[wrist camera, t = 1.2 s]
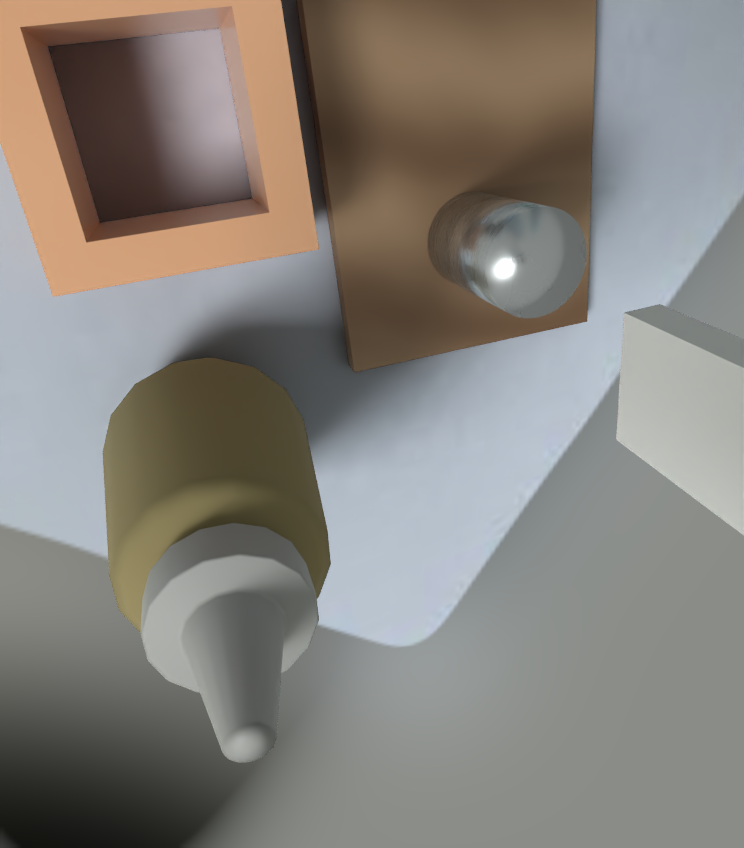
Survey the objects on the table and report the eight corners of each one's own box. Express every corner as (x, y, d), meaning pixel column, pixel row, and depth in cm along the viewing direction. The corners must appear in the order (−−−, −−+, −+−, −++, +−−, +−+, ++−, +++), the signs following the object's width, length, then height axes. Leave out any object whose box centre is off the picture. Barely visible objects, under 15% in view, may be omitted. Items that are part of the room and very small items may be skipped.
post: (424, 199, 28) (484, 216, 22) (509, 185, 28) (588, 198, 23) (431, 292, 29) (489, 327, 24) (512, 276, 30) (585, 307, 25)
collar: (-15, -1, 22) (-60, -33, 17) (252, -24, 24) (271, -59, 19) (72, 267, 26) (53, 296, 21) (294, 229, 28) (319, 249, 23)
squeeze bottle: (300, 337, 30) (455, 576, 14) (285, 493, 33) (397, 837, 17) (108, 325, 27) (29, 602, 11) (110, 496, 30) (51, 902, 14)
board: (280, -114, 23) (284, -123, 22) (585, -133, 25) (600, -142, 24) (349, 365, 31) (354, 372, 30) (575, 316, 33) (587, 321, 32)
